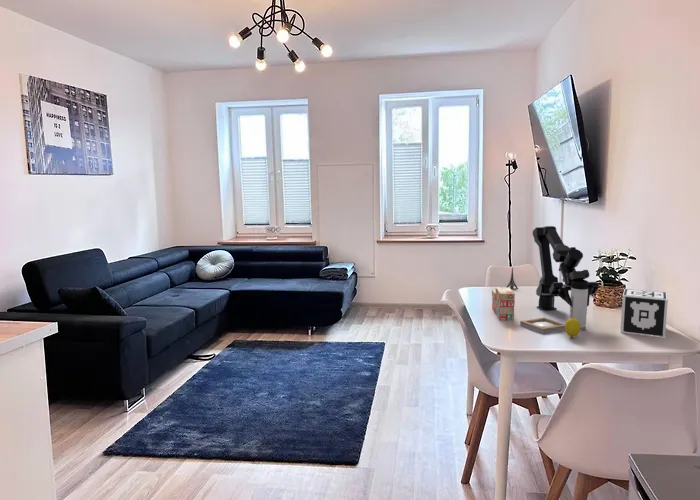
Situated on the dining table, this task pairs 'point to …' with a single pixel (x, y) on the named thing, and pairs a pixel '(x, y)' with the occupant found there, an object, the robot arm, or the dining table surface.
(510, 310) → the stack of blocks
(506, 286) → the eiffel tower figurine
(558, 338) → the dining table surface
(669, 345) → the dining table surface
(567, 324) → the lemon
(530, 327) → the square wooden frame
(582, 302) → the travel mug
